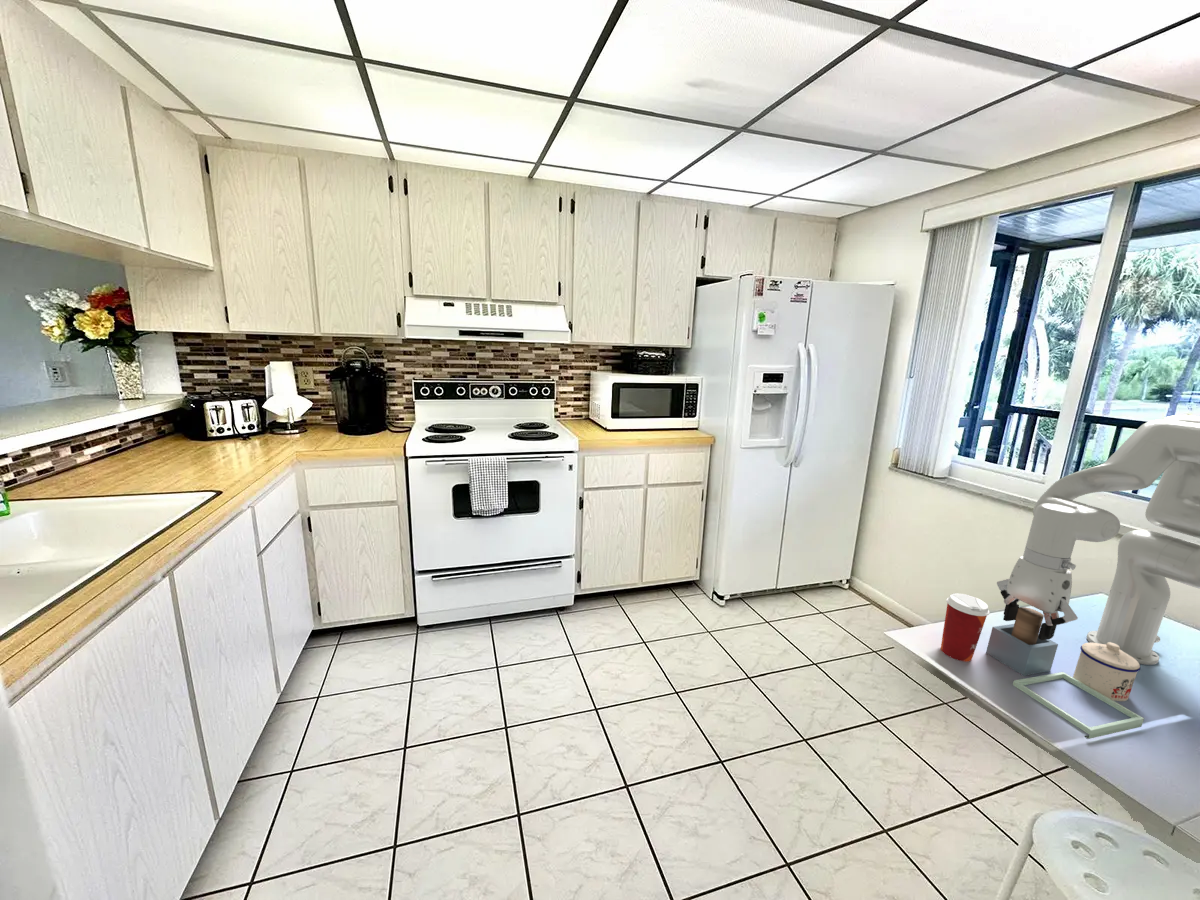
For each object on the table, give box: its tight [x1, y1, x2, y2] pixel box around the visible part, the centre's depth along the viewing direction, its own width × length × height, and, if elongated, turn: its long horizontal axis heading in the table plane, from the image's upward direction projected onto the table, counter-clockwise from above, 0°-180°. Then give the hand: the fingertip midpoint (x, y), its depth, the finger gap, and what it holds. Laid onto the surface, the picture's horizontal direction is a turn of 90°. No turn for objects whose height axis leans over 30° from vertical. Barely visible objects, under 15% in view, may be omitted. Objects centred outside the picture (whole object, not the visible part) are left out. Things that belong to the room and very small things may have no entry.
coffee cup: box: [940, 592, 991, 663], centre depth 114 cm, size 8×8×15 cm
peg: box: [1011, 606, 1044, 645], centre depth 112 cm, size 4×4×13 cm
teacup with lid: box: [1072, 642, 1141, 702], centre depth 105 cm, size 12×9×12 cm
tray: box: [1012, 671, 1145, 740], centre depth 100 cm, size 15×14×2 cm
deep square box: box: [985, 623, 1059, 676], centre depth 113 cm, size 8×8×8 cm
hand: (1026, 628), depth 111 cm, fingers open, 6 cm apart
